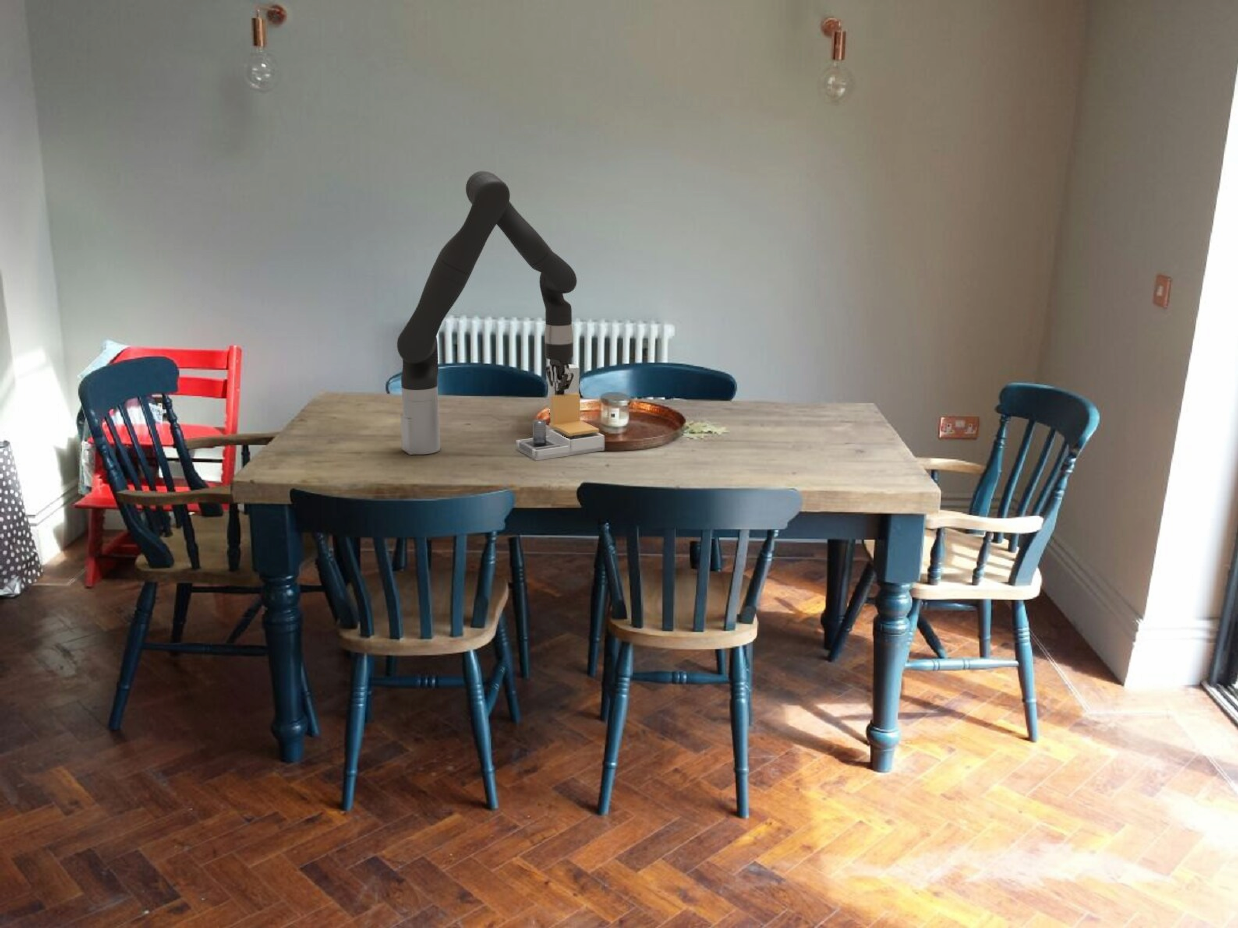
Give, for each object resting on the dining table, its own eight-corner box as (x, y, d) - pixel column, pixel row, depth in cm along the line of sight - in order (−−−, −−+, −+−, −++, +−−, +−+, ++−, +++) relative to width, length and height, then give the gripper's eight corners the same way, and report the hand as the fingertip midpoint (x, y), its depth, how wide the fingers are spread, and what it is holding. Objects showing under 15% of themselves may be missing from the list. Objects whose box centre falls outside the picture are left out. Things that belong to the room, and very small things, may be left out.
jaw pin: (549, 450, 295) (549, 422, 293) (535, 451, 294) (535, 423, 292) (543, 446, 299) (543, 418, 297) (529, 448, 297) (529, 420, 295)
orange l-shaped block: (569, 436, 296) (568, 405, 294) (549, 425, 306) (548, 396, 304) (598, 431, 300) (598, 401, 298) (578, 422, 310) (577, 392, 308)
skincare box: (552, 418, 332) (551, 368, 328) (547, 413, 338) (546, 364, 334) (580, 416, 335) (579, 366, 330) (574, 411, 340) (574, 362, 336)
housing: (535, 460, 290) (535, 445, 289) (504, 442, 306) (503, 428, 305) (604, 450, 299) (604, 435, 298) (570, 433, 316) (570, 419, 315)
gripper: (582, 343, 300) (583, 407, 305) (560, 335, 311) (560, 397, 316) (557, 346, 297) (558, 410, 302) (535, 338, 308) (536, 400, 313)
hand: (559, 403), depth 309 cm, fingers closed
